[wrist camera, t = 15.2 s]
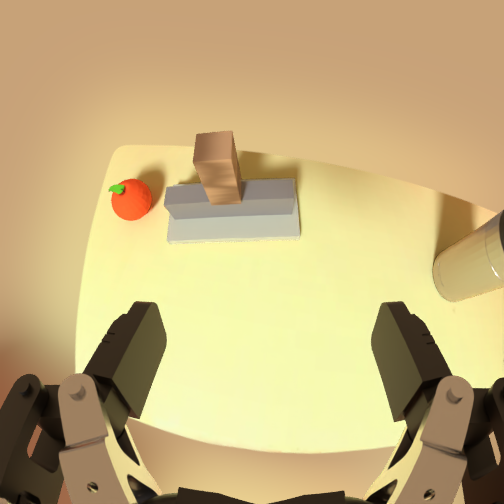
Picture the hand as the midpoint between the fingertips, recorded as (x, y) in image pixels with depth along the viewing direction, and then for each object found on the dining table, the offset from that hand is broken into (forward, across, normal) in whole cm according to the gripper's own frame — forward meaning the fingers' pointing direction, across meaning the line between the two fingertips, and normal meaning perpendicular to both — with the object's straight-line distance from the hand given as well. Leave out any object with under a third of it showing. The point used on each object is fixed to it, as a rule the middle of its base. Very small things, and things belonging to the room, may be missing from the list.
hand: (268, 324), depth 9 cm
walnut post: (+29, +6, +3) cm, 30 cm away
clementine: (+35, +23, +6) cm, 42 cm away
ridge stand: (+34, +6, +8) cm, 35 cm away
